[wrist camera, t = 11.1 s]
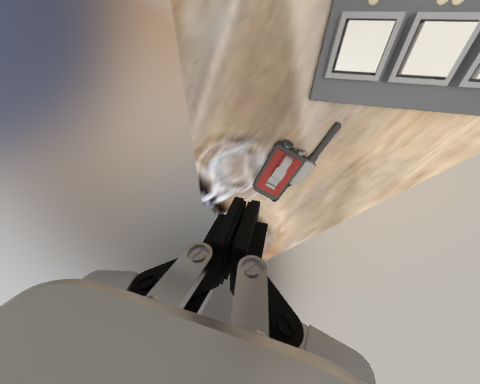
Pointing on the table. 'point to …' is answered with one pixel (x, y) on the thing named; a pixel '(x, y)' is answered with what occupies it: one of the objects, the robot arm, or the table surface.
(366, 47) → the button
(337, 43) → the button panel
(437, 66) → the button
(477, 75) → the button
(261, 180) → the walkie-talkie
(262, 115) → the table surface
